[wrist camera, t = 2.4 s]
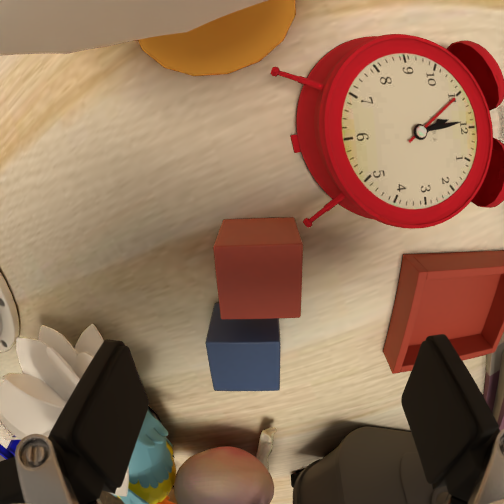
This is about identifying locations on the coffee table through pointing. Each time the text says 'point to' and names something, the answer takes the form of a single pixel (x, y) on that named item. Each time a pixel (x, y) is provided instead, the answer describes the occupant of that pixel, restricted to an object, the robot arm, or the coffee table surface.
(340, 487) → the speaker
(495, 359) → the book
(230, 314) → the red block
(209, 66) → the table lamp
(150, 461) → the blue and yellow bird
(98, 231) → the coffee table surface
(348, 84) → the alarm clock
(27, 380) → the lotus flower
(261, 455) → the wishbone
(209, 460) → the decorative fruit
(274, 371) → the blue block
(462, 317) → the red bin
